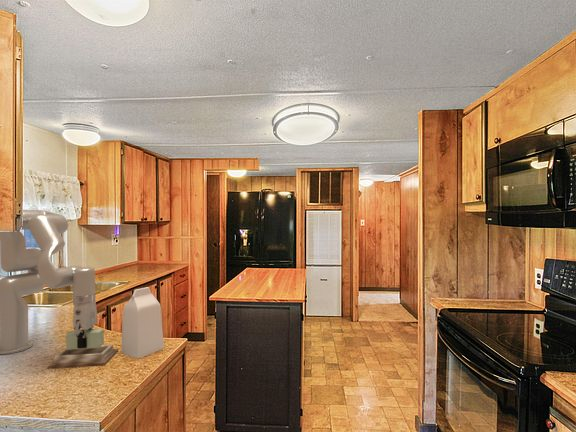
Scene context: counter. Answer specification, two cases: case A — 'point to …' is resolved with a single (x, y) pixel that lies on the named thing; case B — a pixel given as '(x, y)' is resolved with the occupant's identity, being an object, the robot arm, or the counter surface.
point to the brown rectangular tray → (83, 357)
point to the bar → (93, 339)
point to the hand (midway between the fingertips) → (85, 345)
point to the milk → (142, 325)
